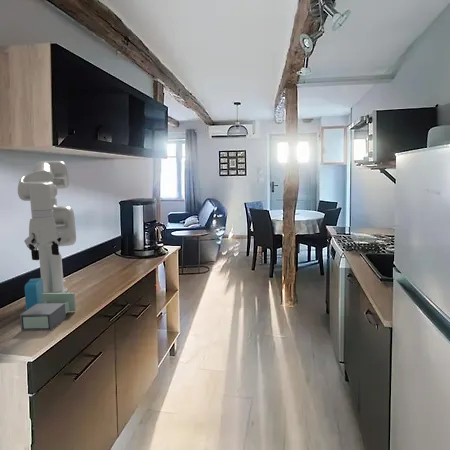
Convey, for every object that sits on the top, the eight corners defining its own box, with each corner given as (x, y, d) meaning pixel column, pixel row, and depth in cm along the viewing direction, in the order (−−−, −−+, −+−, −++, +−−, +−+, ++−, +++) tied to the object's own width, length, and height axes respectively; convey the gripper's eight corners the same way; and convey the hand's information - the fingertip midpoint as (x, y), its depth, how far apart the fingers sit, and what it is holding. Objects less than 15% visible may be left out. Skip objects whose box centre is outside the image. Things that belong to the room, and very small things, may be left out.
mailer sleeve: (38, 318, 152) (36, 303, 151) (65, 318, 152) (64, 303, 151) (21, 330, 140) (19, 314, 139) (51, 330, 140) (50, 314, 139)
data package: (33, 304, 168) (31, 277, 167) (44, 303, 169) (42, 277, 168) (26, 314, 157) (24, 285, 155) (38, 313, 158) (36, 284, 156)
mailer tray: (44, 310, 159) (42, 293, 158) (75, 310, 158) (74, 292, 157) (18, 329, 140) (16, 309, 139) (54, 329, 140) (52, 308, 139)
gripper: (52, 211, 161) (55, 252, 164) (15, 216, 145) (20, 261, 148) (66, 212, 158) (69, 253, 161) (30, 217, 142) (34, 263, 145)
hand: (45, 257), depth 154 cm, fingers open, 9 cm apart
